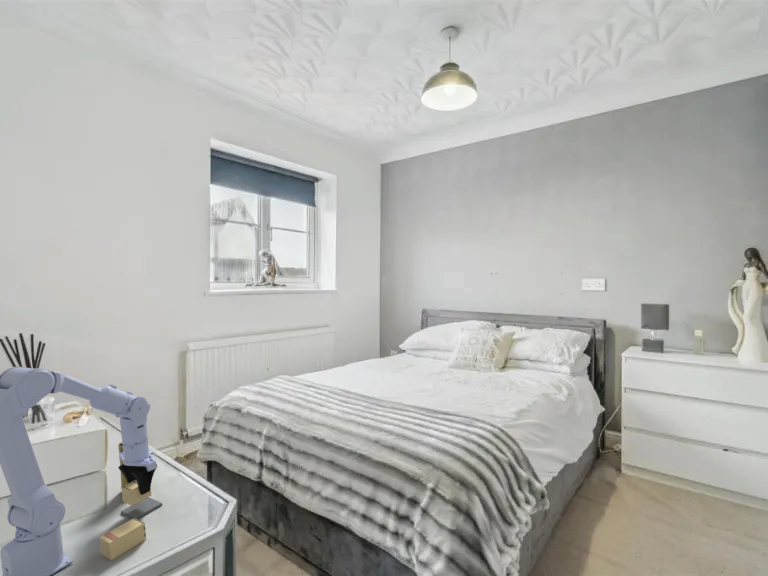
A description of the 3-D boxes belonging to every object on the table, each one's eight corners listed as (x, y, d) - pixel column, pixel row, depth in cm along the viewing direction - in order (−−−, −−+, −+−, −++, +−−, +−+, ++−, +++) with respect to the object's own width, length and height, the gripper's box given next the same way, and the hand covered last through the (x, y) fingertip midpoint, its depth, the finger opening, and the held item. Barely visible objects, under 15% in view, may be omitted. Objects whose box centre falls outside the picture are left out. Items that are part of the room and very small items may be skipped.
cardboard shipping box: (111, 560, 86) (109, 542, 85) (101, 554, 88) (99, 536, 88) (146, 539, 92) (144, 522, 92) (136, 533, 94) (134, 517, 94)
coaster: (135, 520, 100) (135, 518, 99) (120, 513, 103) (120, 511, 103) (162, 505, 106) (162, 503, 106) (147, 498, 109) (147, 496, 109)
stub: (131, 505, 100) (130, 490, 100) (122, 501, 102) (121, 486, 102) (151, 495, 104) (149, 480, 104) (142, 491, 107) (140, 476, 106)
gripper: (165, 439, 103) (170, 488, 104) (136, 430, 110) (140, 477, 111) (138, 451, 97) (143, 503, 98) (108, 441, 104) (113, 490, 105)
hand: (140, 490), depth 104 cm, fingers closed on stub, 4 cm apart
